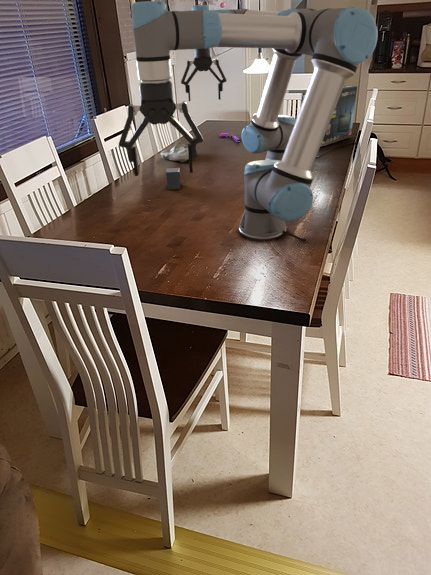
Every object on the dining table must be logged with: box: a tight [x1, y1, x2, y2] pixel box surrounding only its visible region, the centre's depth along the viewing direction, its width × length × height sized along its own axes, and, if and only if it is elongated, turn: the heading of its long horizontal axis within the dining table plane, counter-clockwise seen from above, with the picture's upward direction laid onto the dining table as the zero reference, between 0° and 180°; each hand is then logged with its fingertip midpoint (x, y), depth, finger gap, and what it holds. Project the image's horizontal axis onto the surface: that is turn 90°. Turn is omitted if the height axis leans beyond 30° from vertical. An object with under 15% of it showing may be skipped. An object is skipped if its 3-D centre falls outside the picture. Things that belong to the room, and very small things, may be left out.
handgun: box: [219, 132, 241, 144], centre depth 258 cm, size 21×8×2 cm, turn 11°
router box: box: [300, 84, 358, 145], centre depth 238 cm, size 36×11×27 cm, turn 134°
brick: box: [165, 167, 181, 191], centre depth 190 cm, size 5×6×7 cm
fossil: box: [160, 142, 199, 163], centre depth 229 cm, size 18×11×15 cm
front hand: (164, 172), depth 115 cm, fingers open, 13 cm apart
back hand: (204, 100), depth 208 cm, fingers open, 13 cm apart
